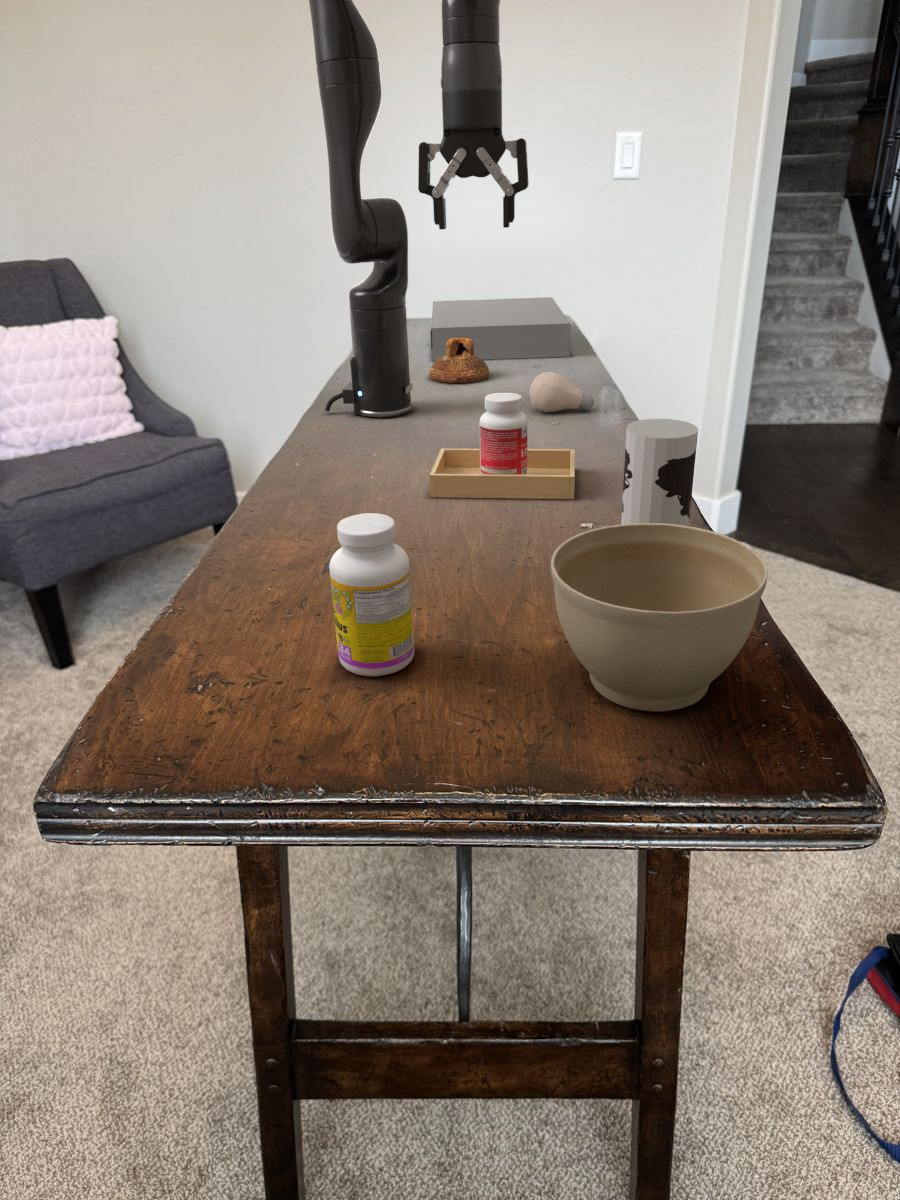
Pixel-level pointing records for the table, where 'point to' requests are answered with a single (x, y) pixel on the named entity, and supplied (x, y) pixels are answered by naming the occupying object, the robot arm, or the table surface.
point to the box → (502, 327)
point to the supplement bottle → (371, 597)
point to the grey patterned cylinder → (659, 471)
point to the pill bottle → (503, 435)
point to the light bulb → (557, 394)
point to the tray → (504, 476)
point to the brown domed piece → (459, 363)
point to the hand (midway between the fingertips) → (474, 228)
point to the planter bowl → (656, 609)
